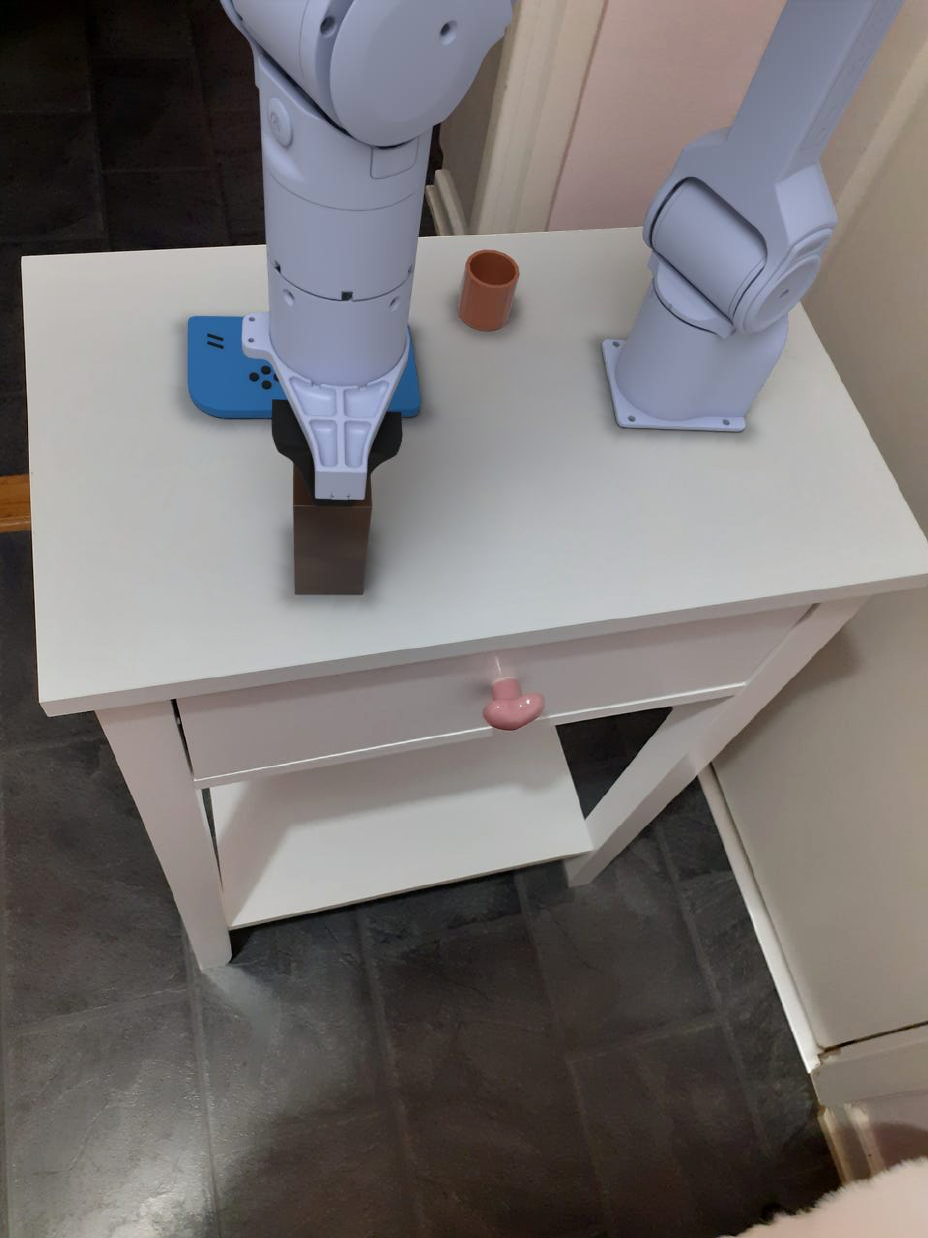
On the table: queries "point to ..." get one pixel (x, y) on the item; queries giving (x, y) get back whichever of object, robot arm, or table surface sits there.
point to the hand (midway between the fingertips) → (332, 467)
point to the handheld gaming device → (254, 374)
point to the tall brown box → (329, 543)
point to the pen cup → (488, 289)
